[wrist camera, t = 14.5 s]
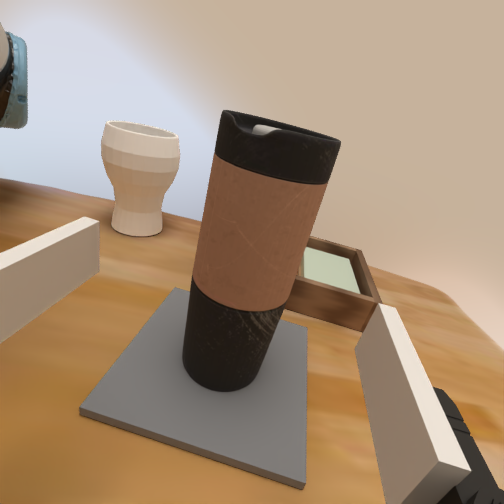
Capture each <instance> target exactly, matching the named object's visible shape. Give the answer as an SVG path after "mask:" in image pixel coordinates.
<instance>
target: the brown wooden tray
mask: <svg viewBox="0 0 504 504" xmlns="http://www.w3.org/2000/svg"><path fill="white" fill-rule="evenodd" d="M306 247H309V248H312V249H316V250H319V251H323V252H326V253H330V254H333V255H337V256H340V257H344V258H347V259H349V261H350V264H351V267H352V270H353V273H354V276H355V279H356V282H357V285H358V288H359V291H360V294H359V293H355V292H352V291H348V290H345V289H342V288H338V287H335V286H332V285H328V284H325V283H321V282H318V281H315V280H311V279H308V278H304V277H301V276H298V275H296V277H295V280H294V283H293V286H292V289H291V292H290V295H289V297H288V300H287V302H286V305H285V309H288V310H292V311H295V312H298V313H302V314H305V315H308V316H311V317H315V318H318V319H321V320H325V321H328V322H331V323H335V324H338V325H341V326H344V327H348V328H351V329H354V330H358V331H361V332H364V330H365V328H366V326H367V324H368V322H369V320H370V318H371V317H372V315H373V313H374V311H375V309H376V307H377V305H378V303H380V304H383V303H382V301H381V298H380V296H379V293H378V291H377V288H376V286H375V283H374V281H373V278H372V276H371V273H370V271H369V268H368V266H367V263H366V261H365V258H364V256H363V253H362V251H361V250H358V249H354V248H351V247H348V246H344V245H340V244H337V243H333V242H330V241H327V240H323V239H319V238H316V237H313V236H310V237H309V239H308V242H307V245H306Z"/></svg>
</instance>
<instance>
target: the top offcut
mask: <svg viewBox="0 0 504 504" xmlns="http://www.w3.org/2000/svg"><path fill="white" fill-rule="evenodd" d="M301 277H304V278H308V279H311V280H315V281H318V282H321V283H325V284H328V285H332V286H335V287H338V288H342V289H345V290H348V291H352V292H355V293H359V294H360V291H359V288H358V285H357V282H356V279H355V276H354V273H353V270H352V267H351V264H350V261H349V259H347V258H344V257H340V256H337V255H333V254H330V253H326V252H323V251H319V250H316V249H312V248H309V247H306V248H305V251H304V254H303V257H302V260H301Z"/></svg>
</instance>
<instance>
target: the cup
mask: <svg viewBox="0 0 504 504" xmlns="http://www.w3.org/2000/svg"><path fill="white" fill-rule="evenodd" d="M101 156H102V159H103V163H104V166H105V170H106V173H107V175H108V177H109V179H110V181H111V183H112V185H113V187H114V195H115V207H114V211H113V215H112V221H111V225H112V227H113V228H114V229H115V230H116V231H118V232H120V233H123V234H127V235H131V236H151V235H155V234H158V233H159V232H161V230H162V211H161V206H162V202H163V198H164V194H165V193H166V191H167V190H168V188H169V187H170V185H171V184H172V183H173V181H174V178H175V176H176V173H177V171H178V168H179V160H180V149H179V139H178V135H176V134H174V133H172V132H170V131H167V130H164V129H160V128H156V127H153V126H148V125H143V124H138V123H132V122H125V121H107V122H106V125H105V129H104V132H103V136H102V140H101Z"/></svg>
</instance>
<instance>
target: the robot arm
mask: <svg viewBox="0 0 504 504" xmlns="http://www.w3.org/2000/svg"><path fill="white" fill-rule="evenodd" d="M27 106H28V105H27V46H26V43H25V41H24V40H23V39H22V38H20V37H17V36H15V35H13V34H12V33H10V32H5V31H4V29H3V27H2V25H1V23H0V128H1V127H4V128H5V127H6V128H14V129H19V128H22V127H24V126H25V125H26V124H27V118H28V110H27V109H28V107H27ZM99 246H100V221H97V220H94V219H90V218H87V217H82V218H80V219H78V220H75V221H73V222H71V223H69V224H66V225H64V226H62V227H59V228H57V229H55V230H53V231H50V232H48V233H46V234H43V235H41V236H39V237H37V238H34V239H32V240H30V241H27V242H25V243H23V244H21V245H18V246H16V247H14V248H11V249H9V250H7V251H4V252H2V253H0V344H1V343H2V342H3V341H5V340H6V339H8V338H9V337H10V336H12V335H13V334H14V333H16V332H17V331H19V330H20V329H21V328H23V327H24V326H25V325H27V324H28V323H29V322H31V321H32V320H34V319H35V318H36V317H38V316H39V315H40V314H42V313H43V312H45V311H46V310H47V309H49V308H50V307H51V306H53V305H54V304H55V303H57V302H58V301H60V300H61V299H62V298H64V297H65V296H66V295H68V294H69V293H71V292H72V291H73V290H75V289H76V288H77V287H79V286H80V285H81V284H83V283H84V282H86V281H87V280H88V279H90V278H91V277H92V276H94V275H95V274H97V273H98V272H99ZM355 353H356V358H357V363H358V368H359V373H360V378H361V383H362V388H363V393H364V398H365V403H366V408H367V412H368V417H369V422H370V427H371V432H372V437H373V442H374V447H375V452H376V457H377V462H378V467H379V472H380V477H381V481H382V486H383V491H384V496H385V501H386V504H504V491H503V490H501V489H499V487H498V486H497V484H496V482H495V480H494V478H493V476H492V474H491V472H490V470H489V468H488V466H487V464H486V462H485V460H484V459H483V457H482V455H481V453H480V451H479V449H478V447H477V445H476V443H475V441H474V439H473V437H472V436H470V431H469V430H468V428H467V426H466V424H465V423H464V422H463V421H464V420H463V418H462V416H461V414H460V412H459V410H458V408H457V406H456V405H455V403H454V402H453V401H452V400H451V399H450V398H449V396H448V395H447V394H446V393H445V392H444V391H443V390H442V389H438V388H435V387H432V385H431V383H430V381H429V379H428V377H427V374H426V372H425V370H424V368H423V366H422V364H421V361H420V359H419V357H418V355H417V353H416V351H415V349H414V346H413V344H412V342H411V340H410V338H409V336H408V333H407V331H406V329H405V327H404V325H403V323H402V321H401V318H400V316H399V314H398V312H397V310H396V308H394V307H390V306H387V305H383V304H380V303H378V305H377V307H376V309H375V311H374V313H373V315H372V317H371V318H370V320H369V322H368V324H367V326H366V328H365V330H364V332H363V334H362V336H361V338H360V340H359V341H358V343H357V345H356V347H355Z"/></svg>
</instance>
